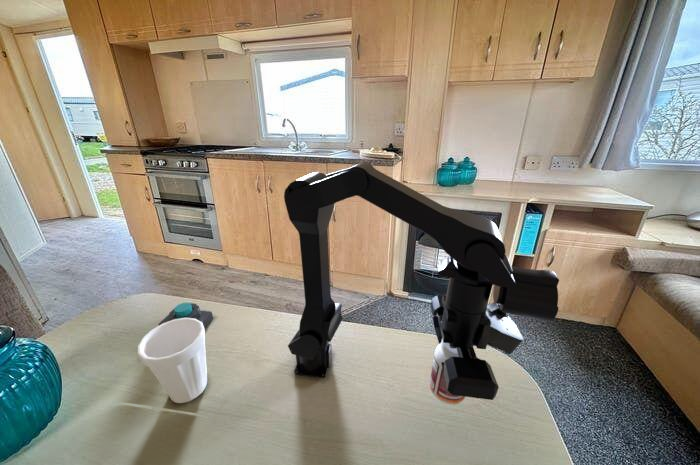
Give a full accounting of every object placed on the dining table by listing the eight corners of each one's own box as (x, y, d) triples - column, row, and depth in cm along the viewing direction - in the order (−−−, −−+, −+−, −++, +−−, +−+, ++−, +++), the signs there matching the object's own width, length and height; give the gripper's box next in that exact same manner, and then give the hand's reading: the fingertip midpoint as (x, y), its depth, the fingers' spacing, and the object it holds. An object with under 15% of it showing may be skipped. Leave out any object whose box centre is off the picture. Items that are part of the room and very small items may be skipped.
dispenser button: (172, 317, 66) (170, 311, 65) (182, 307, 69) (181, 301, 69) (186, 318, 66) (184, 312, 65) (195, 308, 69) (194, 303, 68)
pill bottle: (472, 394, 48) (486, 347, 44) (449, 413, 45) (461, 366, 41) (444, 368, 53) (453, 324, 48) (421, 384, 50) (429, 338, 45)
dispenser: (159, 331, 66) (155, 318, 65) (178, 313, 72) (174, 301, 71) (198, 336, 65) (194, 322, 64) (214, 317, 71) (210, 305, 70)
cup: (229, 374, 56) (216, 324, 50) (187, 423, 47) (167, 368, 42) (190, 361, 59) (175, 312, 53) (145, 404, 50) (121, 351, 45)
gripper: (558, 358, 32) (523, 441, 38) (500, 272, 49) (482, 339, 55) (458, 347, 33) (440, 429, 40) (435, 267, 50) (425, 333, 56)
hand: (450, 375), depth 48 cm, fingers closed on pill bottle, 6 cm apart
